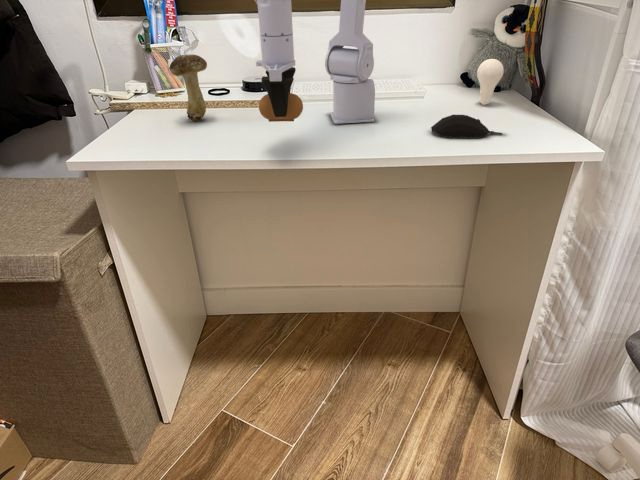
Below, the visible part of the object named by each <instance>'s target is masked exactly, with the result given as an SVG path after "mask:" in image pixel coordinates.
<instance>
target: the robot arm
mask: <svg viewBox="0 0 640 480" xmlns="http://www.w3.org/2000/svg"><path fill="white" fill-rule="evenodd" d="M253 1H254V2H255V4H256V5H257V13H258V25H259V26H258V27H259V36H260V49H261V59H259V60H258V59H257V60H256V61H255V66H256V67H262V68H263V69H264V70H265V74H266V76H262V77H261V79H260V80H261V84H262V85H263V87H264V89H265V90H266V93H267V94H268V95H269V98H270V101H271V105H272V109H273V112H274V115H275V117H286V114H287V108H288V97H289V92H290V93H291V88H292V85H293V83H294V79H295V78H294V76H295V74H296V70H297V69H296V59H295V49H294V47H295V46H294V30H293V8H292V7H293V6H292V0H253ZM366 2H367V0H340V10H339V11H340V12H339V23H338V32H337V33H336V34H335V35H334V36H333V37H331V39H330V40H329V41H328V47H327V51H326V52H327V53H326V55H325V58H324V67H325V71H326V73H327V75H328V76H330V77H329V78H330V80H331V81H332V82H333V83H332V84H333V85H332V86H333V87H332V88H333V89H332V94H333V97H332V98H333V99H332V100H333V101H332V102H333V106H332V107H333V108H332V109H333V110H332V111H330V112H329V116H330V117H331V119H332V120H331V121H332V122H333V124H334V125H341V124H355V123H356V124H357V123H373V122H375V105H376V104H375V101H376V87H375V81H374V79H372V78H369V77H371V75H372V74H373V71H374V66H375V58H374V44H373V43H372V41H371V40H370V39H369V38H368V37H367V36H366V35H365V34H364V23H365V15H366V14H365V13H366ZM349 47H352V48H349Z"/></svg>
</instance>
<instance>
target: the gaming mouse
mask: <svg viewBox="0 0 640 480" xmlns="http://www.w3.org/2000/svg"><path fill="white" fill-rule="evenodd" d="M430 128H431V132H432V133H434V134H436V135H438V136H440V137H443V138H450V139H451V138H452V139H454V138H455V139H456V138H457V139H458V138H459V139H462V138H463V139H464V138H465V139H470V138H471V139H479V138H484V137H486V136H487V135H488V134H490V135H500V136H502V135H503V132H497V131H494V130H489V128H488V127H487V126H486V125H484V124H483V122H481V120H480V118H475V117H473V116H470V115H467V114H451V115H447V116H444V117H442V118H441V119H439V120H438V121H437V122H436V123H434V124H433V125H432V126H431V127H430Z"/></svg>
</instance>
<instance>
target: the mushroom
mask: <svg viewBox="0 0 640 480" xmlns="http://www.w3.org/2000/svg"><path fill="white" fill-rule="evenodd" d="M207 68H208V63H207V61H206V59H204V58H203V57H201V56H200V55H197V54H193V53H192V54H187V53H185V54H180V55H178V56H175V58H174V59H172V61H171V63H170V64H169V68H168V69H169V71H170V73H171V74H172V75H173V76H175V77H182V79H183V81H184V85H185V89H186V93H187V107H186V114H187V116H186V117H187V118H188V121H191V122H199V121H201V119H202V118H203V117H204V115H205V114H206V112H207V105H206V101H205V99H204V95H203V93H202V91H201V90H202V89H201V87H200V84H199V83H200V82H199V77H198V73H200V72H203V71H205V70H206V69H207Z"/></svg>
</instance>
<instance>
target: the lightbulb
mask: <svg viewBox="0 0 640 480" xmlns="http://www.w3.org/2000/svg"><path fill="white" fill-rule="evenodd" d="M504 70H505V69H504V65H503V63H502V62H501V61H500V60H498V59H496V58H488V59H485V60H484V61H482V62H481V63H480V65H479V66H478V67H477V71H476V72H477V73H476V77H477V80H478V83H479V103H481V105H483V106H486V105H488V104H490V103H491V100H492V96H493V95H494V91H495V88H496V87H497V85H498V83H499V82H500V81H501V79H502V78H503V76H504V72H505V71H504Z"/></svg>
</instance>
